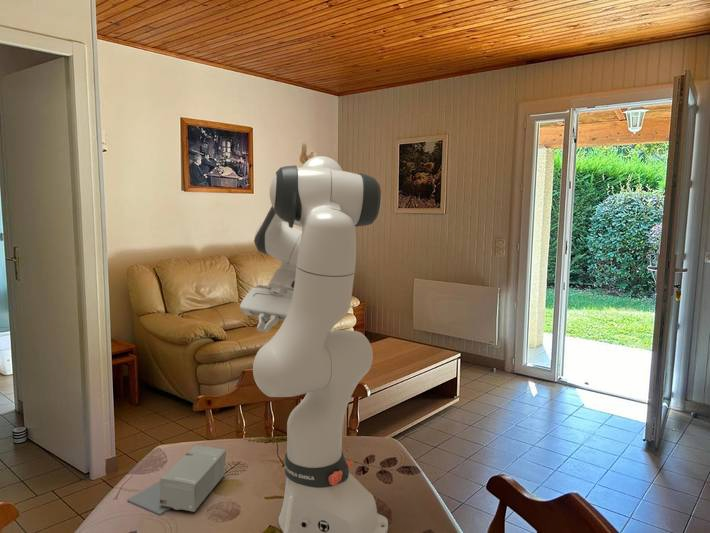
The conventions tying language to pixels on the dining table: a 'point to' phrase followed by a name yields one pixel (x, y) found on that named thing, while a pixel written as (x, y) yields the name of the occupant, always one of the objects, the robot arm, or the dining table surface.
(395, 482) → the dining table surface
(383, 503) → the dining table surface
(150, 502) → the mat
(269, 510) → the dining table surface
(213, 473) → the skincare box
